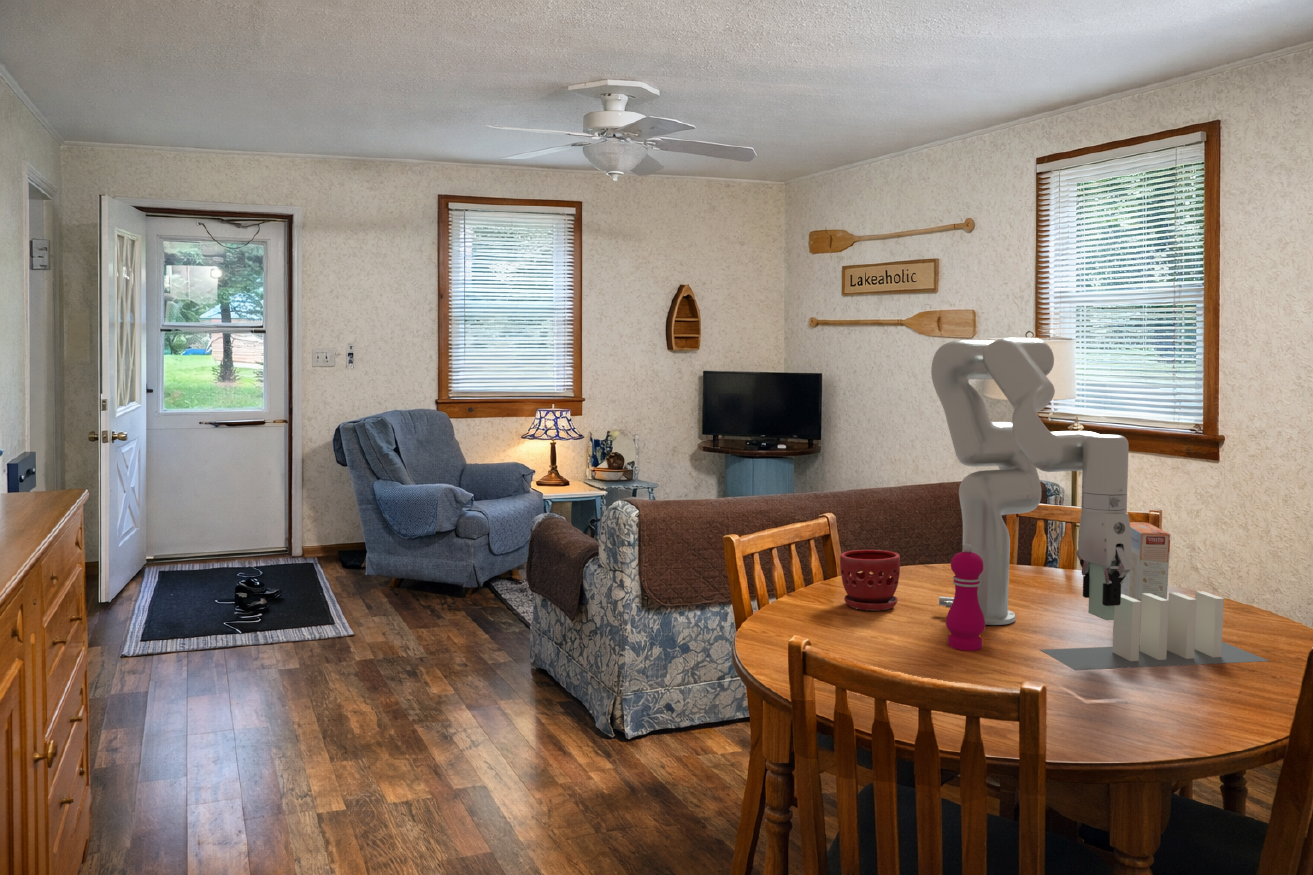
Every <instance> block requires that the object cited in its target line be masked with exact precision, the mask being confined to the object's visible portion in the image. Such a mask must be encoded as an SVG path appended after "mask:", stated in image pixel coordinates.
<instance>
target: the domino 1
mask: <svg viewBox="0 0 1313 875" xmlns="http://www.w3.org/2000/svg"><path fill="white" fill-rule="evenodd" d="M1140 615H1141V601H1139V600H1136V599H1134V598H1131V597H1129V596H1126V595H1123V594H1121V604H1120V605H1116V606H1115V611H1114V620H1113V624H1112V626H1113V627H1112V647H1113V648H1112V652H1113V653H1115V654H1117V655H1119V656H1121V657H1123V658H1125V659H1127V660H1129V661H1139V645H1140Z"/></svg>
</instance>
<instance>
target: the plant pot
mask: <svg viewBox="0 0 1313 875" xmlns="http://www.w3.org/2000/svg"><path fill="white" fill-rule="evenodd" d="M839 567H840V568H839V570H840V575H841V582H842V585H843V589H844V591H845V592H846V595H845V596H844V602H845V604H847V606H849V607H850V608H853V609H856V608H857V609H862V611H868V610H871V611H870V612H872V611H873V612H877V611H878V612H880V611H879V610H881V611H886V610H887V611H888V610H890V608H891V609H892V608H894V607H895V606H896V605H897V604H898V600H899V599H898V597H896V596H895V593H896V591H897V589H898V585H899V581H900V580H899V579H900V572H901V570H900V569H901V555H900V554H899V553H898V552H895V551H890V550H881V549H855V550H848V551H843V552H842V553H841V554H840V555H839ZM858 571H861V572H858ZM857 609H856V610H857Z"/></svg>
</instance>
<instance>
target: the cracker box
mask: <svg viewBox="0 0 1313 875" xmlns="http://www.w3.org/2000/svg"><path fill="white" fill-rule="evenodd" d="M1130 528H1131V545H1132V561H1131V565H1130V567H1131V570H1130V572H1129V573H1128V574H1127V575H1126V577H1125V578H1124V579H1123V584H1121V594H1123V595H1126V596H1129V597H1131V598H1134V599H1136V600H1139V601H1141V603H1142V593H1151V594H1153V595H1156V596H1159V597H1161V598H1164V599H1166V600H1168V584H1169V566H1170V565H1169V563H1170V551H1171V549H1170V548H1171V534H1170V533H1168V532H1167V531H1165V530H1163V529H1161V528H1159V527H1158V526H1155V524H1152V523H1149V522H1144V521H1143V522H1142V521H1141V522H1138V521H1137V522H1136V521H1133V522H1132V521H1130ZM1140 626H1141V615H1140Z"/></svg>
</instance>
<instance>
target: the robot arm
mask: <svg viewBox="0 0 1313 875" xmlns="http://www.w3.org/2000/svg"><path fill="white" fill-rule="evenodd" d="M1054 356H1055V355H1054V352H1053V350H1052V348H1051V346H1050V345H1049V344H1048V343H1046V342H1045V341H1043V339H1039V338H1035V337H1034V338H1033V337H1003V338H998V339H996V340H993V339H992V340H988V339H987V340H983V339H981V340H980V339H962V340H961V339H960V340H952V341H949V342H946V343H944V344H942V345H941V346H939V347H938V348H937V350H936V351H935V353H934V356H933V358H932V362H931V368H930V369H931V370H930V371H931V381H932V385H933V388H934V390H935V393H936V395H937V397H938V399H939V401H940V403H941V406H942V409H943V412H944V415H945V418H946V423H947V427H948V429H949V430H948V431H949V435H950V438H951V441H952V446H953V448H954V453H955V455H956V457H957V460H958V462H960V463H961V464H962V465H964V466H965V467H966V466H967V467H975V468H976V467H998V469H988V470H987V469H985V470H979V471H974V472H971V473H969V474H968V475H966V476H965V477H964V478H963V479H962V480H961V482H960V485H959V488H958V498H959V504H960V509H961V510H960V511H961V517H962V518H961V519H962V547H963V546H964V545H965V544H970V545H971V546H972V551H971V552H973V553H976V554H978V555H979V556H980V557H981V559H982V561H983V565H984V568H983V572H982V573H981V574H980V575H979V578H980V579H981V580H980V586H978V591H977V593H978V601H979V605H980V608H981V610H982V613H983V615H984V619H985V626H1002V625H1003V626H1004V625H1005V626H1006V625H1008V624H1013V623H1014V622H1016V614H1015V612H1014V611H1011V610H1009V593H1010V592H1009V588H1010V587H1009V585H1010V582H1009V581H1010V558H1011V557H1010V552H1011V536H1010V532H1009V528H1008V526H1007V525H1006V523H1005V521H1004V519H1003V517H1002V516H1005V515H1014V514H1015V515H1016V514H1018V515H1019V514H1026V513H1030V512H1032V511H1034V510H1035V509H1037V508H1038V506H1039V505H1040V502H1041V500H1042V493H1043V492H1042V485H1041V480H1040V475H1039V474H1038V473H1039V472H1038V470H1040V471H1041V472H1046V473H1058V472H1082V476H1081V506H1080V510H1081V512H1080V517H1079V518H1080V519H1079V527H1078V535H1077V536H1078V538H1077V540H1078V542H1077V550H1076V552H1075V553H1076V557H1077V558H1078V560H1079V564H1080V567H1081V575H1082V576H1083V577H1082V597H1083V598H1085V599H1087V598H1088V599H1089V584H1090V577H1089V574H1090V564H1091V563H1093V564H1096V565H1099V566H1102V567H1103V570H1104V576H1105V582H1106V583H1103V599H1102V604H1103V605H1105V606H1116V605H1120V604H1121V584H1123V579H1124V578H1125V577H1126V575H1127V574H1128V573H1129V572H1130V570H1131V567H1130V565H1131V561H1132V545H1131V528H1130V522H1131V521H1130V516H1129V513H1128V481H1129V480H1128V478H1129V474H1128V473H1129V441H1128V439H1127V438H1126V437H1125V436H1123V435H1121V434H1120V435H1119V434H1108V433H1107V434H1105V433H1102V434H1100V433H1097V432H1094V431H1090V430H1089V431H1088V430H1060V431H1050V430H1049V429H1048V428H1047V426H1046V425H1045V424H1044V423H1043V421H1042V419H1041V418H1040V416H1039V415H1038V413H1039V412H1041V411H1042V410H1044V409H1045V408H1046V407H1047V406H1048V405H1049V404H1050V403H1051V401H1052V400H1053V398H1054V397H1055V391H1056V390H1055V386H1054V384H1053V383H1052V382H1051V380H1049V378H1048V377H1047V376H1048V375H1049V374H1050V373H1051V372H1052V370H1053V367H1054V365H1055V357H1054ZM969 380H993V381H994V382H995V384H996V385H997V387H998V388H999V390H1000V391H1001V392H1002V393H1003V394H1004V396H1005V398H1007V400H1008V401H1009V403H1010V404H1011V406H1012V407H1013V412H1012V417H1011V418H1012V419H1011V422H1008V421H992V420H991V419H990V417H989V415H988V412H987V408H986V403H985V402H984V399H983V398H982V396H981V394H980V393H979V392H978V391H977V390H976V389H975V388H974V386H972V385H971V384H970V383H969ZM962 552H964V551H963V550H962ZM1111 563H1116V566H1111V565H1112V564H1111ZM1110 570H1116V571H1114V572H1113V574H1112V575H1111V572H1110ZM954 597H955V595H954V596H953V597H949V596H938V606H943V607H944V606H945V608H949V609H950V608H951V606H952V603H953V601H954Z"/></svg>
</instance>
